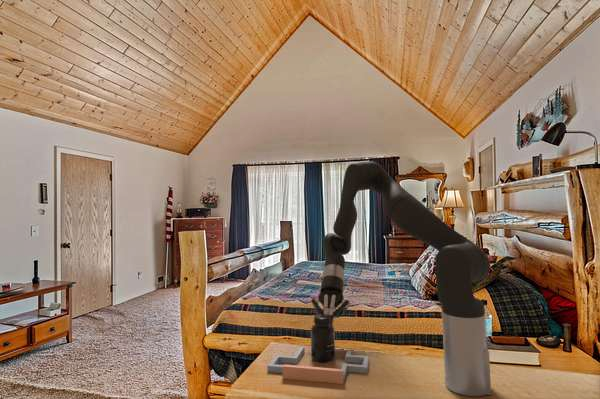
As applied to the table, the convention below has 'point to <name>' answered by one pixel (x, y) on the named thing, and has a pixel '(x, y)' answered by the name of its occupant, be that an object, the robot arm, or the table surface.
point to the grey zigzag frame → (317, 368)
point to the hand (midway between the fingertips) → (327, 328)
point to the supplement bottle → (322, 339)
